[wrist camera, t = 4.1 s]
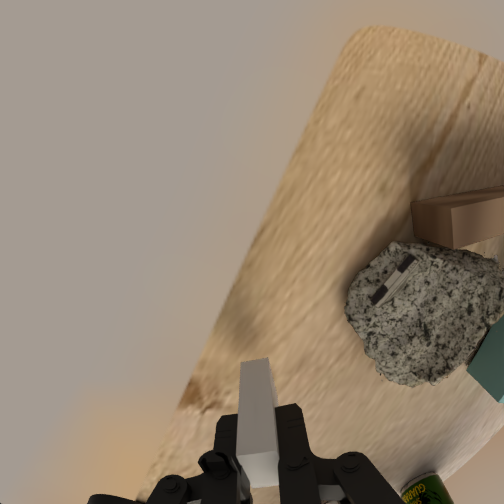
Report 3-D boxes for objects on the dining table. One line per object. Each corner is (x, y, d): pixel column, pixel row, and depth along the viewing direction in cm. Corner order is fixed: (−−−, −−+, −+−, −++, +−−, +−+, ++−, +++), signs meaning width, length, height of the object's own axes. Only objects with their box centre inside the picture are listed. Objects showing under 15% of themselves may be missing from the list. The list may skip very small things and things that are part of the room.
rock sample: (393, 186, 11) (531, 333, 7) (435, 192, 16) (524, 285, 11) (290, 330, 17) (376, 440, 13) (355, 298, 22) (423, 379, 17)
